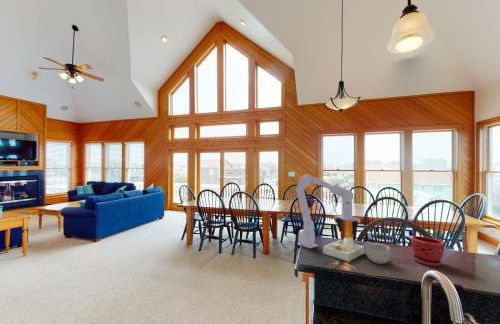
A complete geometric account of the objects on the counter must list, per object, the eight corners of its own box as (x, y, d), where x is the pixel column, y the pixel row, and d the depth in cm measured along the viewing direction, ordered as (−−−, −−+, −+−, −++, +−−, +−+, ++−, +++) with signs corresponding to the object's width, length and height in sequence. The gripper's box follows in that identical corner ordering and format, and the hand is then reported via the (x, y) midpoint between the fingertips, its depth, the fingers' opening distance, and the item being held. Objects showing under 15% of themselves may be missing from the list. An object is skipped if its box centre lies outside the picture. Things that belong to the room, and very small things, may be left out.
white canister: (342, 250, 126) (342, 238, 126) (346, 248, 129) (346, 236, 129) (350, 253, 122) (350, 240, 122) (355, 251, 125) (355, 239, 125)
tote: (323, 253, 122) (323, 246, 122) (340, 246, 134) (340, 240, 134) (348, 261, 111) (348, 253, 111) (364, 253, 123) (364, 246, 123)
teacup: (389, 268, 105) (388, 251, 105) (364, 262, 111) (364, 246, 112) (391, 259, 116) (391, 244, 116) (368, 254, 122) (368, 239, 123)
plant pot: (431, 269, 104) (431, 244, 105) (405, 258, 117) (405, 236, 117) (451, 266, 107) (450, 242, 108) (423, 256, 120) (423, 234, 121)
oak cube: (333, 254, 120) (333, 244, 120) (337, 252, 123) (337, 243, 123) (341, 256, 116) (341, 247, 116) (346, 254, 119) (346, 245, 120)
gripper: (332, 208, 132) (332, 231, 132) (357, 212, 122) (357, 236, 122) (337, 207, 137) (337, 229, 137) (361, 210, 127) (361, 234, 127)
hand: (346, 232), depth 130 cm, fingers open, 7 cm apart
